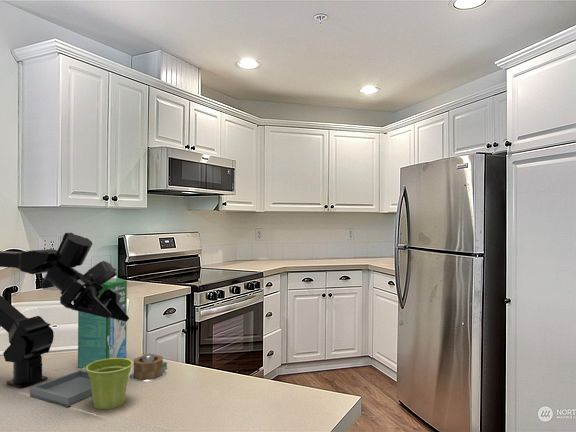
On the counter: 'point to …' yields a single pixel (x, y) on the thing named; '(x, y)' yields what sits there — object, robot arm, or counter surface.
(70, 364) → the counter surface
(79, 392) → the tray
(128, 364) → the plant pot
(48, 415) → the counter surface
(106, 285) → the milk carton
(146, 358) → the grey peg stand
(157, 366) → the ring
